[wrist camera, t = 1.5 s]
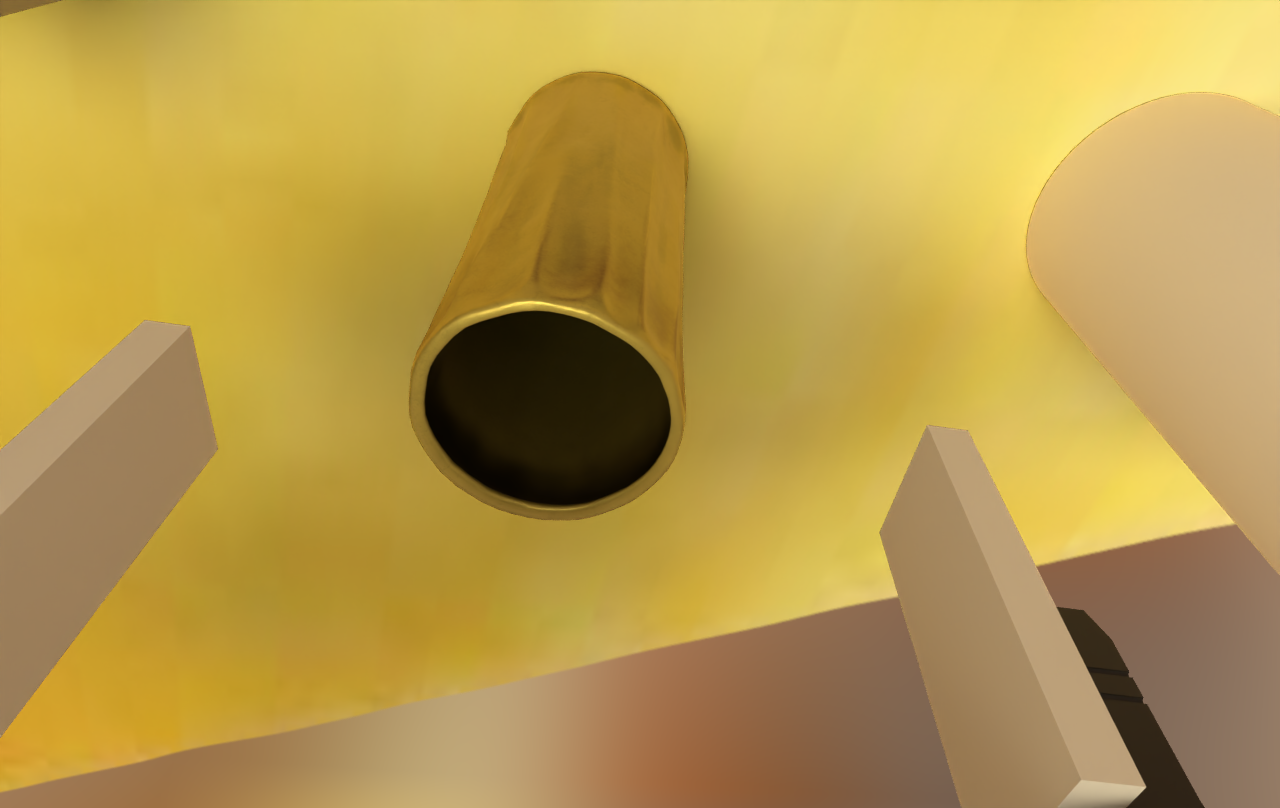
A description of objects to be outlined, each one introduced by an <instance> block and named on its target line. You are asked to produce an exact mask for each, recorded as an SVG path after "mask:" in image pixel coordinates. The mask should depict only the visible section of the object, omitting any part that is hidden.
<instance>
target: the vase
mask: <svg viewBox="0 0 1280 808" xmlns="http://www.w3.org/2000/svg"><path fill="white" fill-rule="evenodd" d="M687 179H688V154H687V148H686V144H685V140H684V137H683V134H682V132H681V130H680V128H679V126H678V124H677V122H676V120H675V119H674V117H673V115H672V114H671V112H670V111H669V109H668V108H667V106H666V105H665V104H664V103H663V102H662V101H661V100H660V99H659V98H658V97H656V96H655V95H654V94H652V93H651V92H650V91H648V90H647V89H645V88H643V87H642V86H640V85H639V84H637V83H635V82H633V81H631V80H629V79H627V78H624V77H621V76H618V75H613V74H608V73H601V72H580V73H576V74H572V75H568V76H565V77H562V78H560V79H558V80H555V81H553V82H551V83H549V84H547V85H546V86H544V87H542V88H541V89H540V90H538V91H537V92H536V93H534V94H533V95H532V96H531V98H530V99H529V100H528V101H527V102H526V103H525V105H524V106H523V108H522V109H521V111H520V113H519V114H518V116H517V117H516V119H515V120H514V122H513V123H512V125H511V127H510V129H509V130H508V135H507V141H506V146H505V148H504V151H503V153H502V155H501V158H500V161H499V163H498V166H497V169H496V171H495V174H494V177H493V179H492V182H491V185H490V188H489V191H488V193H487V196H486V198H485V201H484V203H483V206H482V209H481V211H480V214H479V216H478V219H477V222H476V224H475V227H474V229H473V232H472V234H471V237H470V239H469V241H468V244H467V246H466V249H465V251H464V253H463V256H462V258H461V260H460V263H459V265H458V267H457V269H456V271H455V273H454V275H453V277H452V279H451V282H450V284H449V286H448V289H447V291H446V293H445V295H444V297H443V299H442V301H441V303H440V305H439V307H438V309H437V312H436V314H435V316H434V318H433V320H432V323H431V325H430V327H429V329H428V331H427V333H426V335H425V337H424V339H423V341H422V343H421V345H420V347H419V349H418V351H417V353H416V356H415V359H414V362H413V366H412V370H411V379H410V391H409V413H410V418H411V423H412V427H413V429H414V431H415V433H416V436H417V438H418V440H419V442H420V443H421V445H422V447H423V448H424V450H425V452H426V453H427V455H428V456H429V457H430V459H431V460H432V461H433V463H434V464H435V465H436V467H437V468H438V469H439V470H440V472H441V473H443V474H444V475H445V476H446V477H447V478H448V479H449V480H450V481H452V482H453V483H454V484H455V485H456V486H457V487H459V488H460V489H462V490H463V491H465V492H467V493H468V494H470V495H471V496H473V497H475V498H476V499H478V500H479V501H481V502H483V503H485V504H487V505H490V506H492V507H494V508H496V509H499V510H502V511H505V512H508V513H511V514H515V515H520V516H524V517H529V518H535V519H541V520H579V519H584V518H589V517H593V516H596V515H599V514H603V513H605V512H608V511H611V510H614V509H616V508H618V507H621V506H623V505H625V504H627V503H629V502H631V501H633V500H634V499H636V498H637V497H639V496H640V495H642V494H643V493H644V492H645V491H647V490H648V489H649V488H650V487H651V486H652V485H654V484H655V483H656V482H657V481H658V480H659V479H660V478H661V477H662V475H663V474H664V473H665V472H666V471H667V470H668V468H669V467H670V465H671V464H672V462H673V460H674V458H675V456H676V454H677V452H678V449H679V446H680V443H681V440H682V436H683V431H684V426H685V413H686V403H685V387H684V369H683V335H682V317H683V249H684V224H685V192H686V186H687Z"/></svg>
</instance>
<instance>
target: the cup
mask: <svg viewBox="0 0 1280 808" xmlns="http://www.w3.org/2000/svg"><path fill="white" fill-rule="evenodd" d="M1026 250H1027V260H1028V265H1029V269H1030V272H1031V275H1032V277H1033V280H1034V282H1035V284H1036V285H1037V287H1038V289H1039V290H1040V292H1041V293H1042V294H1043V295H1044V296H1045V298H1046V299H1047V300H1048V301H1049V302H1050V304H1051V305H1052V306H1053V307H1054V308H1055V310H1056V311H1057V312H1058V313H1059V314H1060V316H1061V317H1062V318H1063V319H1064V320H1065V321H1066V323H1067V324H1068V325H1069V326H1070V327H1071V329H1072V330H1073V331H1074V332H1075V333H1076V335H1077V336H1078V337H1079V338H1080V339H1081V340H1082V342H1083V343H1084V344H1085V345H1086V346H1087V348H1088V349H1089V350H1090V351H1091V352H1092V354H1093V355H1094V356H1095V357H1096V358H1097V359H1098V361H1099V362H1100V363H1101V364H1102V365H1103V367H1104V368H1105V369H1106V370H1107V371H1108V373H1109V374H1110V375H1111V376H1112V377H1113V378H1114V380H1115V381H1116V382H1117V383H1118V384H1119V386H1120V387H1121V388H1122V389H1123V390H1124V392H1125V393H1126V394H1127V395H1128V396H1129V397H1130V399H1131V400H1132V401H1133V402H1134V403H1135V405H1136V406H1137V407H1138V408H1139V409H1140V411H1141V412H1142V413H1143V414H1144V415H1145V416H1146V418H1147V419H1148V420H1149V421H1150V422H1151V424H1152V425H1153V426H1154V427H1155V428H1156V430H1157V431H1158V432H1159V433H1160V434H1161V435H1162V437H1163V438H1164V439H1165V440H1166V441H1167V443H1168V444H1169V445H1170V446H1171V447H1172V449H1173V450H1174V451H1175V452H1176V453H1177V454H1178V456H1179V457H1180V458H1181V459H1182V460H1183V462H1184V463H1185V464H1186V465H1187V466H1188V468H1189V469H1190V470H1191V471H1192V472H1193V473H1194V475H1195V476H1196V477H1197V478H1198V479H1199V481H1200V482H1201V483H1202V484H1203V485H1204V487H1205V488H1206V489H1207V490H1208V491H1209V493H1210V494H1211V495H1212V496H1213V497H1214V498H1215V500H1216V501H1217V502H1218V503H1219V504H1220V506H1221V507H1222V508H1223V509H1224V510H1225V512H1226V513H1227V514H1228V515H1229V516H1230V517H1231V519H1232V520H1233V521H1234V522H1235V523H1236V525H1237V526H1238V527H1239V528H1240V529H1241V531H1242V532H1243V533H1244V534H1245V535H1246V536H1247V538H1248V539H1249V540H1250V541H1251V542H1252V544H1253V545H1254V546H1255V547H1256V548H1257V549H1258V551H1259V552H1260V553H1261V554H1262V555H1263V557H1264V558H1265V559H1266V560H1267V561H1268V562H1269V564H1270V565H1271V566H1272V567H1273V569H1274V570H1275V571H1276V572H1277V573H1278V574H1279V575H1280V116H1277V115H1275V114H1273V113H1271V112H1268V111H1266V110H1264V109H1262V108H1259V107H1257V106H1255V105H1253V104H1250V103H1248V102H1246V101H1244V100H1241V99H1239V98H1235V97H1232V96H1229V95H1223V94H1218V93H1206V92H1198V93H1184V94H1177V95H1172V96H1167V97H1163V98H1160V99H1156V100H1153V101H1150V102H1147V103H1145V104H1142V105H1140V106H1137V107H1135V108H1133V109H1131V110H1128V111H1126V112H1124V113H1122V114H1120V115H1119V116H1117V117H1115V118H1114V119H1112V120H1110V121H1109V122H1107V123H1106V124H1104V125H1103V126H1101V127H1100V128H1098V129H1097V130H1095V131H1094V132H1093V133H1092V134H1090V135H1089V136H1088V137H1087V138H1085V139H1084V140H1083V141H1082V142H1081V143H1080V144H1079V145H1078V146H1077V147H1075V148H1074V149H1073V150H1072V151H1071V153H1070V154H1069V155H1068V156H1067V157H1066V158H1065V159H1064V160H1063V161H1062V162H1061V164H1060V165H1059V166H1058V167H1057V169H1056V170H1055V171H1054V173H1053V174H1052V176H1051V177H1050V178H1049V180H1048V181H1047V183H1046V185H1045V187H1044V188H1043V190H1042V192H1041V194H1040V196H1039V198H1038V200H1037V202H1036V204H1035V207H1034V210H1033V212H1032V215H1031V219H1030V223H1029V227H1028V233H1027V244H1026Z"/></svg>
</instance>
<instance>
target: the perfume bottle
mask: <svg viewBox="0 0 1280 808" xmlns="http://www.w3.org/2000/svg"><path fill="white" fill-rule="evenodd" d="M57 1H61V0H0V17H1V16H4V15H8V14H12V13H16V12H19V11H23V10H27V9H31V8H35V7H38V6H42V5H46V4H50V3H53V2H57Z"/></svg>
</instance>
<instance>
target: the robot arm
mask: <svg viewBox="0 0 1280 808" xmlns="http://www.w3.org/2000/svg"><path fill="white" fill-rule="evenodd" d="M217 450H218V447H217V442H216V438H215V433H214V429H213V425H212V420H211V416H210V412H209V407H208V403H207V398H206V394H205V390H204V385H203V381H202V376H201V372H200V368H199V363H198V359H197V354H196V350H195V346H194V341H193V337H192V332H191V328H190V326H185V325H177V324H170V323H162V322H155V321H147V320H144V321H143V322H142V323H141V324H140V325H139V326H138V327H137V328H136V329H134V330H133V331H132V332H131V333H130V334H129V335H128V336H127V337H126V338H124V339H123V340H122V341H121V342H120V343H119V344H118V345H117V346H116V347H114V348H113V349H112V350H111V351H110V352H109V353H108V354H107V355H106V356H104V357H103V358H102V359H101V360H100V361H99V362H98V363H97V364H96V365H94V366H93V367H92V368H91V369H90V370H89V371H88V372H87V373H86V374H84V375H83V376H82V377H81V378H80V379H79V380H78V381H77V382H76V383H74V384H73V385H72V386H71V387H70V388H69V389H68V390H67V391H66V392H64V393H63V394H62V395H61V396H60V397H59V398H58V399H57V400H56V401H54V402H53V403H52V404H51V405H50V406H49V407H48V408H47V409H46V410H44V411H43V412H42V413H41V414H40V415H39V416H38V417H37V418H36V419H35V420H33V421H32V422H31V423H30V424H29V425H28V426H27V427H26V428H25V429H23V430H22V431H21V432H20V433H19V434H18V435H17V436H16V437H15V438H13V439H12V440H11V441H10V442H9V443H8V444H7V445H6V446H5V447H3V448H2V449H1V450H0V738H1V736H2V735H3V734H4V732H5V731H6V730H7V728H8V727H9V726H10V724H11V723H12V722H13V720H14V719H15V718H16V716H17V715H18V714H19V712H20V711H21V710H22V708H23V707H24V706H25V704H26V703H27V702H28V700H29V699H30V698H31V696H32V695H33V694H34V692H35V691H36V690H37V688H38V687H39V686H40V684H41V683H42V682H43V681H44V679H45V678H46V677H47V675H48V674H49V673H50V671H51V670H52V669H53V667H54V666H55V665H56V663H57V662H58V661H59V659H60V658H61V657H62V655H63V654H64V653H65V651H66V650H67V649H68V647H69V646H70V645H71V643H72V642H73V641H74V639H75V638H76V637H77V635H78V634H79V633H80V631H81V630H82V629H83V627H84V626H85V625H86V623H87V622H88V621H89V619H90V618H91V617H92V615H93V614H94V613H95V612H96V610H97V609H98V608H99V606H100V605H101V604H102V602H103V601H104V600H105V598H106V597H107V596H108V594H109V593H110V592H111V590H112V589H113V588H114V586H115V585H116V584H117V582H118V581H119V580H120V578H121V577H122V576H123V574H124V573H125V572H126V570H127V569H128V568H129V566H130V565H131V564H132V562H133V561H134V560H135V558H136V557H137V556H138V554H139V553H140V552H141V550H142V549H143V548H144V546H145V545H146V544H147V543H148V541H149V540H150V539H151V537H152V536H153V535H154V533H155V532H156V531H157V529H158V528H159V527H160V525H161V524H162V523H163V521H164V520H165V519H166V517H167V516H168V515H169V513H170V512H171V511H172V509H173V508H174V507H175V505H176V504H177V503H178V501H179V500H180V499H181V497H182V496H183V495H184V493H185V492H186V491H187V489H188V488H189V487H190V485H191V484H192V483H193V481H194V480H195V479H196V477H197V476H198V475H199V474H200V472H201V471H202V470H203V468H204V467H205V466H206V464H207V463H208V462H209V460H210V459H211V458H212V456H213V455H214V454H215V452H216V451H217ZM880 536H881V539H882V543H883V546H884V550H885V553H886V556H887V560H888V563H889V566H890V570H891V573H892V576H893V580H894V583H895V587H896V590H897V593H898V597H899V600H900V603H901V607H902V610H903V613H904V617H905V620H906V623H907V627H908V630H909V634H910V637H911V640H912V643H913V647H914V650H915V654H916V657H917V660H918V664H919V667H920V671H921V674H922V677H923V681H924V684H925V687H926V691H927V694H928V697H929V701H930V704H931V707H932V711H933V714H934V718H935V721H936V724H937V728H938V731H939V734H940V738H941V741H942V744H943V748H944V751H945V754H946V758H947V761H948V764H949V768H950V771H951V774H952V778H953V781H954V785H955V788H956V791H957V795H958V798H959V801H960V805H961V808H1205V807H1204V806H1203V804H1202V803H1201V801H1200V800H1199V798H1198V796H1197V794H1196V793H1195V791H1194V789H1193V787H1192V785H1191V783H1190V782H1189V780H1188V778H1187V776H1186V774H1185V772H1184V771H1183V769H1182V767H1181V765H1180V763H1179V762H1178V760H1177V758H1176V756H1175V754H1174V753H1173V751H1172V749H1171V747H1170V745H1169V743H1168V741H1167V740H1166V738H1165V736H1164V735H1163V732H1162V731H1161V729H1160V727H1159V725H1158V723H1157V722H1156V720H1155V718H1154V716H1153V714H1152V712H1151V711H1150V709H1149V707H1148V706H1147V704H1144V703H1143V696H1142V694H1141V692H1140V690H1139V689H1138V687H1137V685H1136V683H1135V681H1134V680H1133V678H1130V677H1129V675H1128V673H1129V670H1128V669H1127V667H1126V665H1125V663H1124V662H1123V660H1122V658H1121V656H1120V654H1119V652H1118V650H1117V649H1116V647H1115V645H1114V643H1113V641H1112V640H1111V639H1110V637H1109V636H1107V634H1106V633H1105V632H1104V631H1103V630H1102V629H1101V628H1100V627H1099V626H1098V625H1097V624H1096V623H1095V622H1094V621H1093V620H1092V619H1091V618H1090V617H1089V616H1088V615H1087V614H1086V613H1085V611H1084V610H1076V609H1069V608H1060V607H1056V606H1055V604H1054V602H1053V600H1052V598H1051V596H1050V594H1049V592H1048V590H1047V588H1046V586H1045V584H1044V582H1043V580H1042V578H1041V576H1040V574H1039V572H1038V570H1037V568H1036V566H1035V564H1034V562H1033V560H1032V558H1031V556H1030V554H1029V552H1028V550H1027V548H1026V546H1025V544H1024V542H1023V540H1022V538H1021V536H1020V534H1019V532H1018V530H1017V528H1016V526H1015V524H1014V522H1013V520H1012V518H1011V516H1010V514H1009V512H1008V510H1007V508H1006V506H1005V504H1004V502H1003V500H1002V498H1001V496H1000V494H999V492H998V490H997V488H996V486H995V484H994V482H993V480H992V478H991V476H990V474H989V472H988V470H987V468H986V466H985V464H984V462H983V460H982V458H981V456H980V454H979V452H978V450H977V448H976V446H975V444H974V442H973V440H972V438H971V436H970V434H969V432H968V430H960V429H953V428H946V427H938V426H931V425H927V426H926V429H925V431H924V433H923V435H922V438H921V440H920V442H919V444H918V447H917V449H916V451H915V453H914V456H913V458H912V460H911V462H910V465H909V467H908V469H907V471H906V474H905V476H904V478H903V481H902V483H901V485H900V487H899V490H898V492H897V494H896V496H895V499H894V501H893V503H892V505H891V508H890V510H889V512H888V514H887V517H886V519H885V521H884V523H883V526H882V528H881V530H880Z"/></svg>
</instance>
